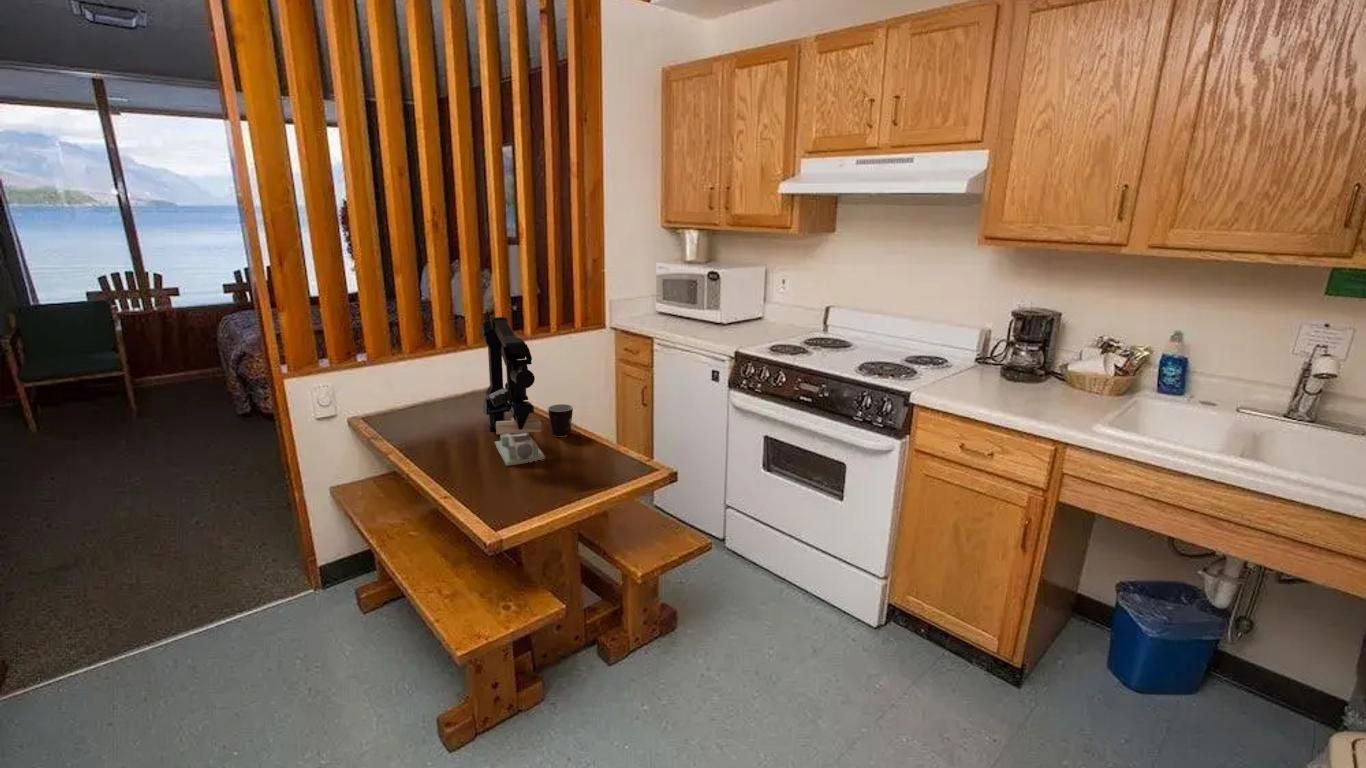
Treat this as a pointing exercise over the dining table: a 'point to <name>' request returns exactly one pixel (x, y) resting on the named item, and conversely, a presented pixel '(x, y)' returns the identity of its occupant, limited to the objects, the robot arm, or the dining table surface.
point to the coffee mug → (560, 419)
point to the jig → (518, 448)
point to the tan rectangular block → (512, 426)
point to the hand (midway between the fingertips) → (518, 427)
